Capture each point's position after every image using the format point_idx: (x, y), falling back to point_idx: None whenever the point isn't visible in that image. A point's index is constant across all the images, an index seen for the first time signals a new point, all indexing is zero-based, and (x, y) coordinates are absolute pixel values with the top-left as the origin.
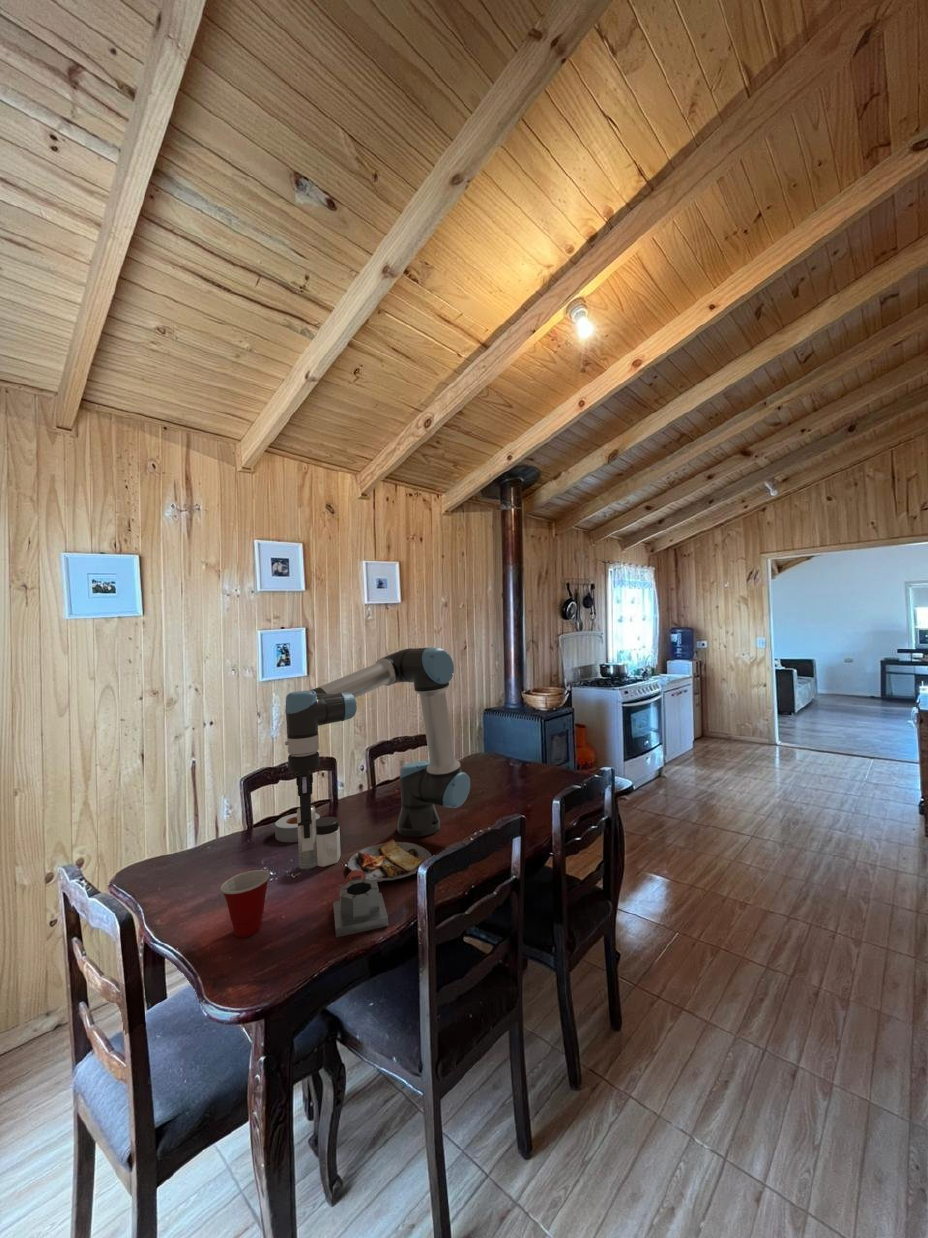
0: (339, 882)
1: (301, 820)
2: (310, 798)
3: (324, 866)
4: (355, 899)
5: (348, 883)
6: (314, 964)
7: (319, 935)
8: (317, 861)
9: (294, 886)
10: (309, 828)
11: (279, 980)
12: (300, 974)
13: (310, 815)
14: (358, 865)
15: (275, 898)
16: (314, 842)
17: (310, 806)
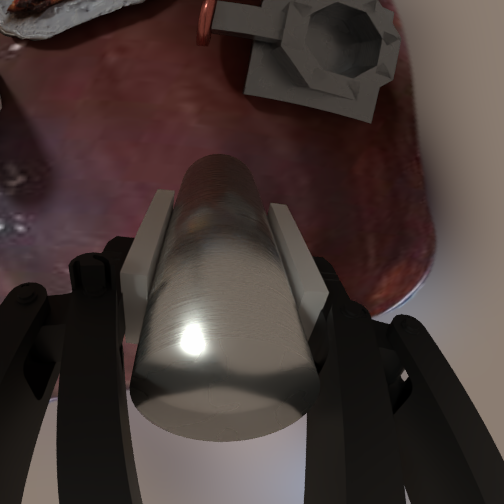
0: (96, 61)
1: (401, 391)
2: (386, 497)
3: (1, 104)
4: (393, 72)
5: (292, 53)
6: (410, 179)
7: (332, 148)
8: (229, 157)
9: (66, 178)
10: (348, 297)
11: (408, 235)
12: (417, 205)
13: (448, 368)
14: (48, 10)
15: (107, 222)
16: (259, 203)
17: (483, 425)
